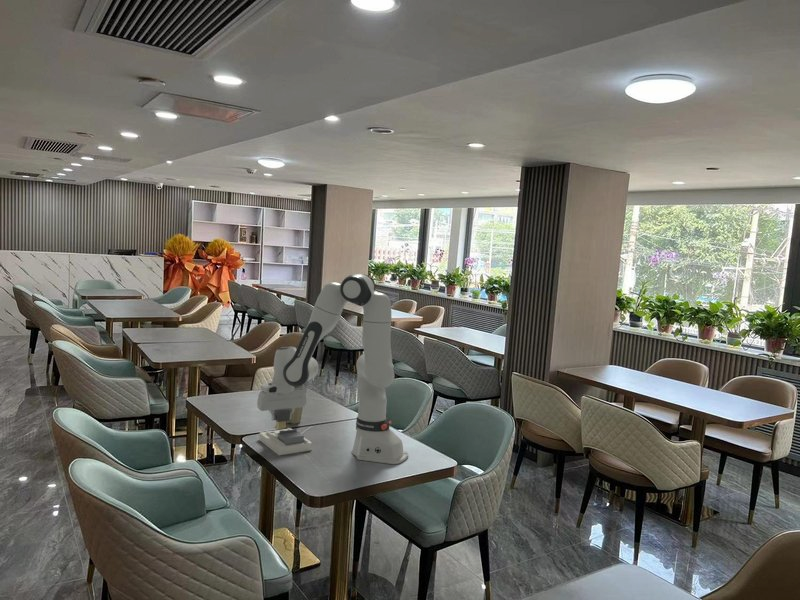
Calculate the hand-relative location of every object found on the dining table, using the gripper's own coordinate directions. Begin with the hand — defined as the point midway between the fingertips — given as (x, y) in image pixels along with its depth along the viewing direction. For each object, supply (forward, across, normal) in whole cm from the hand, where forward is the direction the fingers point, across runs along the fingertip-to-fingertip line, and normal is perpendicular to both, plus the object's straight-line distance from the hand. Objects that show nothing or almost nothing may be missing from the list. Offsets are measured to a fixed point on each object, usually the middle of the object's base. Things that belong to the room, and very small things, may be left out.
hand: (281, 419), depth 238 cm
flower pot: (+10, -16, -23) cm, 30 cm away
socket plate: (+9, 0, +4) cm, 10 cm away
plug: (+3, 0, 0) cm, 3 cm away
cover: (+6, 0, +9) cm, 11 cm away
